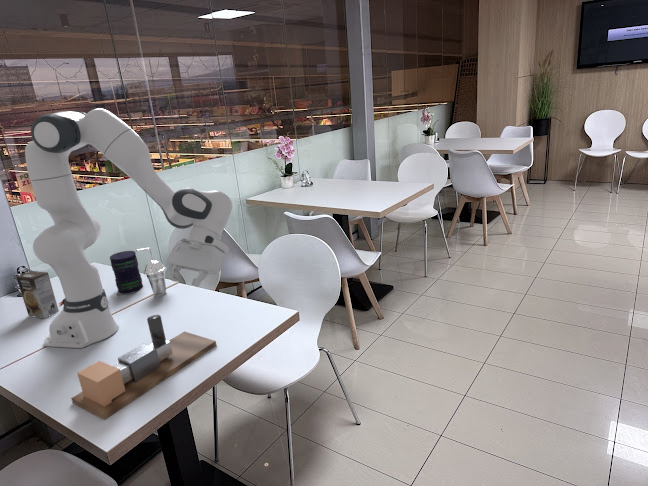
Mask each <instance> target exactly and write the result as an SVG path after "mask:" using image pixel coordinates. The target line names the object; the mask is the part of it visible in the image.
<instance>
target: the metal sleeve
mask: <svg viewBox="0 0 648 486" xmlns="http://www.w3.org/2000/svg"><path fill="white" fill-rule="evenodd" d="M117 361H118V362H117V363H119V362H121V361H122V362H124V363H127V364H129V365H130V367H131V371H132V375H133V379H131V381H133V382H135V383H136V382H138V381H139V380H141V379H142V378H144V377H146V376H147V375H149V374H150V373H152V372H153V371H155V370H157V369H158V368H160V367H161V366H160V362H159V358H158V353H157V349H156V348H154V347H151V346H149V345H148V344H146V343H142V344H140V345H138V346H136V347H135V348H132V349H131V350H129V351H127V352H126V353H124V354H123V355H121V356H118V357H117Z"/></svg>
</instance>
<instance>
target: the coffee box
mask: <svg viewBox="0 0 648 486" xmlns="http://www.w3.org/2000/svg"><path fill="white" fill-rule="evenodd" d="M15 278H16V281H17V284H18V287H19V290H20V292H21V297H22V299H23V303H24V306H25V309H26V312H27V314H28V315H27V316H28V317H32V316H35V317H34V318H38V317H42V318H41V319H44V318H45V317H47V316H49V315H51V316H53V315H54V313H55V314H57V313H59V312H60V311H59V306H58V303H57V299H56V296H55V292H54V289H53V285H52V282H51V278H50V275H49V272H45V271H36V270H31V271H28V272H25V273H22V274H20V275H19V274H18V275H17V276H16V277H15ZM58 311H59V312H58ZM56 312H57V313H56ZM52 314H53V315H52ZM49 317H50V316H49ZM47 318H48V317H47ZM45 319H46V318H45Z"/></svg>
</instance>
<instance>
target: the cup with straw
mask: <svg viewBox="0 0 648 486" xmlns="http://www.w3.org/2000/svg"><path fill="white" fill-rule="evenodd" d="M142 251H149V253H150V258H151V260H150V261H149V262H147V264H146V265H145V268H144V270H143V274H144V275H146V277H147V280H148V282H149V284H150V287H151V290H152V293H153V295H154V297H161V296H164V295H166V294H167V287H166V271H167V270H168V269H167V267H166V265H164V264H163V263H162V261H160V260H156V259H154V255H153V249H151V248H150V247H145V248H140V249H139V248H138V249H136V250H135V252H142Z"/></svg>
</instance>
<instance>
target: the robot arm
mask: <svg viewBox="0 0 648 486" xmlns="http://www.w3.org/2000/svg"><path fill="white" fill-rule="evenodd" d="M30 135H31V139H32V140H31V141H30V142H28V143H27V144H26V146H25V148H24V155H25V157H24V158H25V164H26V165H25V166H26V169H27V173H28V174H27V175H28V177H29V180H30V184H31V188H32V191H33V195H34V196H35V200H36V204H37V205H38V207H40V209H43V210H45V211H47V213H48V214H49V216H50V217H51V218H52V221H53V224H54V225H51V226H49V227H47V228H45V229H44V230H43V231H41V232H40V233H39V234H38V235H37V237H36V238H35V239H34V240H33V243H32V250H33V253H34V255H35V257H36V258H37V259H39V260H40V261H41V262H42V263H44V264H47V265H49V266H50V267H51V268H52V270H53V271H54V272H55V274H56V276H57V277H58V279H59V281H60V284H61V289H62V291H63V295H64V298H63V299H62V300H61V301H60V302H59V303H58V305H59V306H58V308H60V307H62V306H63V307H62V310H61V311H59V312H58V313H59V314H57V316H55V317H54V319H53V320H52V321H51V323H50V324H49V330H48V331H49V334H48V335H47V336H46V338H45V339H44V340H43V346H44V347H51V348H52V347H53V348H55V347H56V348H71V349H73V348H74V349H83V348H85V347H88V346H89V345H91V344H95V343H97V342H100V341H102V340H105V339H108V338H109V337H111V336H112V335H114V334H115V333H116V332H117V331H118V330H119V325H118V323H117V322H116V321H115V319H114V317H113V315H112V313H111V311H110V307H109V302H108V296H107V294H106V290H105V289H104V288H103V284H102V280H101V276H100V273H99V269H98V268H97V267H96V266H95V265H94V264H91V263H90V262H89V261H88V259H87V257H86V255H85V252H84V251H85V250H87V249H88V248H90V247H92V246H93V244H95V243H96V242H97V240H98V238H99V237H100V236H101V232H102V230H101V225H100V223H99V221H98V220H97V219H96V218H94V216H91V215H90V214H89V212H87V210H86V208H85V206H84V205H83V203H82V201H81V199H80V197H79V193H78V190H77V187H76V183H75V180H74V177H73V174H72V171H71V170H72V169H71V167H70V163H69V156H70V155H71V152H73V153H75V152H78V151H80V150H81V149H85V148H86V147H88V146H92V147H94V148H95V149H97V151H98V152H99V153H101V154H102V155H103V156H104V157H105V158H106V159H107V160H108V161H110V162H111V163H112V164H113V165H115V166H116V168H118V169H119V170H120V171H122V172H123V173H124V174H126V175H127V177H129V178H130V179H131V180H133V182H135V183H136V184H137V185H138V186H139V187H140V188H141V189H142V191H144V193H146V194H147V195H148V197H150V198H151V199H152V200H153V201H154V202H155V203H156V204H157V205H158V206H159V207H160V209H161V211H162V212H163V214H164V216H165V219H166V220H167V222H168V223H169V224H170V225H171V226H173V227H174V228H177V229H182V230H184V229H189V228H190V227H192V226H193V227H192V229H191V231H190V233H189V235H188V237H187V239H186V238H182V239H181V240H178V241H177V242H176V243H175V244H174V246H172V248H171V250H170V252H169V253H168V255H167V257H166V264H168V265H170V266H171V275H170V279H169V280H170V281H172V282H174V283H177V282H178V281H179V279H180V276H179V272H180V271H181V270H182V269H183V270H188V271H191V272H198V276H197V277H196V278H193V279H192V282H191V285H192V286H194V287H198V288H199V287H200V285H201V283H202V282H203V281H204V280H205V279H206V278H207V277H208V275H213V276H216V275H218V274H219V273H220V272H221V271H222V268H223V266H224V263H225V260H226V257H227V256H226V255H227V254H228V252H229V250H230V248H229V246H227V245H226V244H225V243H224V242H222V241H221V238H222V232H223V230H224V229H225V228H226V226H227V224H228V222H229V221H230V217H231V215H232V212H233V211H232V210H233V202H232V200H231V199H230V197H229V196H228V195H227V194H225V193H224V192H222V191H219V190H214V189H213V190H207V191H205V190H199V189H195V188H191V187H183V188H180V189H178V190H177V191H175V192H174V190H172V188H171V187H170V186H169V185H168V184H167V183H166V182H165V181H164V180H163V179H162V178H161V177H160V175H158V174H157V172H156V170H155V168H154V166H153V163H152V160H151V159H152V158H151V155H150V154H151V153H150V150H149V147H148V145H147V144H146V143H145V142H144V140H143V139H142V137H141V136H140V135H139V134H137V132H135V130H133V129H132V128H131V127H130V126H129V125H128V124H127V123H125V122H124V121H123V120H122V119H120V118H119V117H117V116H116V115H115V114H114V113H112V112H111V111H109V110H107V109H104V108H98V107H97V108H94V109H91V110H90V111H88V112H83V111H78V110H72V111H70V110H68V111H67V110H64V111H63V110H62V111H61V110H60V111H57V112H54V113H46V114H42V115H41V116H39V117H37V118H36V119H35V120H34V121H33V122H32V124H31V127H30Z"/></svg>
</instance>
